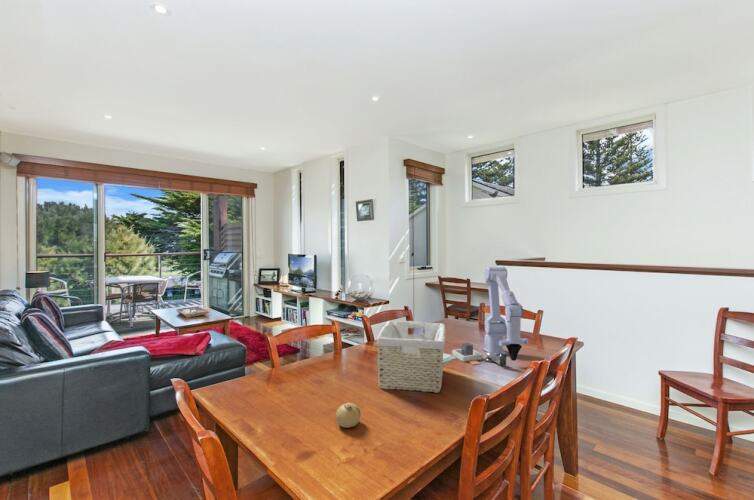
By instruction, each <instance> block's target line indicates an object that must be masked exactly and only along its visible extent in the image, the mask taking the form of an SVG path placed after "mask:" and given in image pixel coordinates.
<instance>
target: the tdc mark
mask: <svg viewBox="0 0 754 500" xmlns="http://www.w3.org/2000/svg"><path fill="white" fill-rule="evenodd" d="M467 362H468V363H469V364H471V365H473V366H476V365H480V364H481V362H479V360H475V361H467Z"/></svg>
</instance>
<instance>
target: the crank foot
mask: <svg viewBox="0 0 754 500" xmlns="http://www.w3.org/2000/svg"><path fill="white" fill-rule="evenodd" d="M484 361H485V362H487V363H491V364H493V363H496V362H495V361H493V360H491V359H488V358H487V356H486V357H485V359H484Z"/></svg>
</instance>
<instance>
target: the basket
mask: <svg viewBox="0 0 754 500" xmlns="http://www.w3.org/2000/svg"><path fill="white" fill-rule="evenodd" d="M409 329H411V330H414V329H417V330H418V329H419V330H420V329H421V330H422V333H423V334H409ZM446 333H447V332H446V325H445V323H441V322H440V323H436V322H424V321H423V322H422V321H415V320H388V321H387V322H386V323H385V324H384V326H383V327H382V328H381V330H380V332H379V334H378V336H377V338H376V346H377V355H378V356H377V365H378V367H377V369H378V371H377V372H378V373H377V374H378V375H377V377H378V378H377V379H378V380H377V381H378V387H379V388H380V389H382V390H383V389H384V390H399V391H400V390H403V391H404V390H406V391H407V390H409V391H419V392H420V391H421V392H423V393H427V392H428V393H432V392H433V393H436V394H438V393H440V392H441V388H442V385H443V384H442V382H443V374H444V373H443V369H444V349H445V347H446V346H445V345H446V335H447V334H446Z"/></svg>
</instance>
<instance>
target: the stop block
mask: <svg viewBox="0 0 754 500" xmlns="http://www.w3.org/2000/svg"><path fill="white" fill-rule="evenodd" d="M461 349H462V352H461V355H463V356H469V355H473V350H474V344H472V343H470V342H462V343H461Z"/></svg>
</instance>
